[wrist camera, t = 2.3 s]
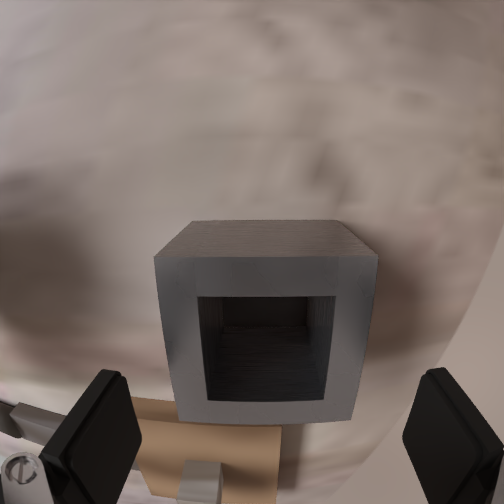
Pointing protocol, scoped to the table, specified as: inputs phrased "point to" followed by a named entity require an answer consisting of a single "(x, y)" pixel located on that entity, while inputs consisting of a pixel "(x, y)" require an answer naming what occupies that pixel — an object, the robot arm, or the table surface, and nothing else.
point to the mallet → (181, 452)
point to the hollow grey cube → (265, 338)
